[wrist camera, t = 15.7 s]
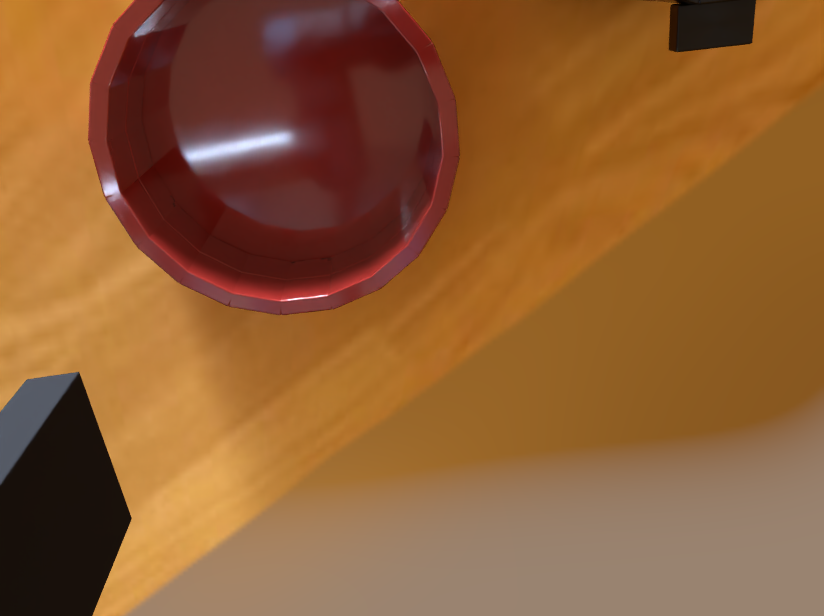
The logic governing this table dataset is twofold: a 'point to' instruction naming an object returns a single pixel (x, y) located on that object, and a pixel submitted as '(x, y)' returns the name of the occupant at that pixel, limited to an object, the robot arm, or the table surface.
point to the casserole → (274, 145)
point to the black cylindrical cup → (710, 23)
